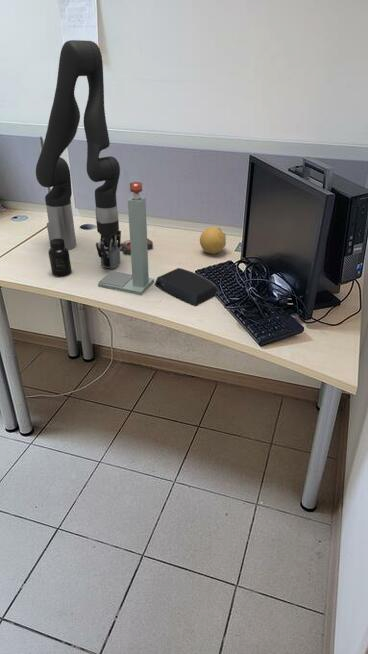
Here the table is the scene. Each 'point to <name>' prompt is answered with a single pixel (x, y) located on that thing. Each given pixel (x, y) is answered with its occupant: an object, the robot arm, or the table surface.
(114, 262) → the block
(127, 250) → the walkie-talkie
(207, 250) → the stress ball
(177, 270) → the external hard drive
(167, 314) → the table surface
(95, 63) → the robot arm
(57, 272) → the supplement bottle
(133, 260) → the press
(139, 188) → the plunger
